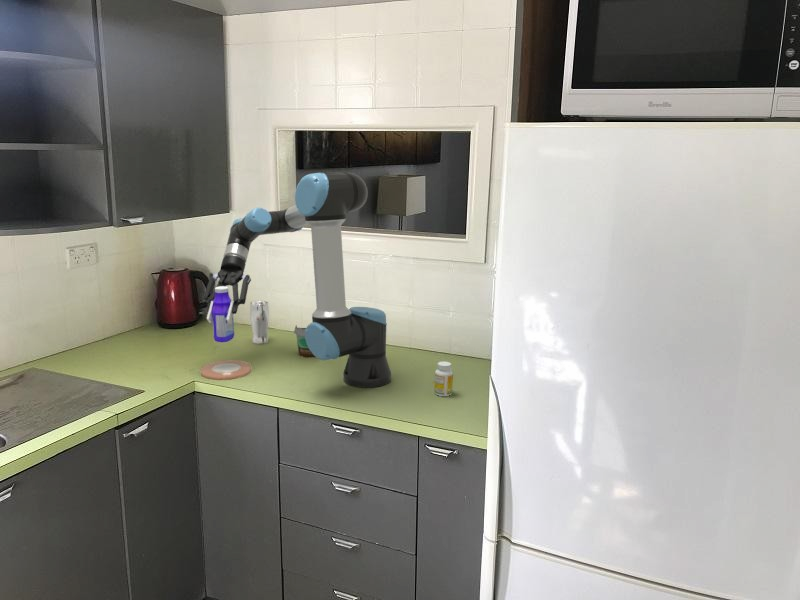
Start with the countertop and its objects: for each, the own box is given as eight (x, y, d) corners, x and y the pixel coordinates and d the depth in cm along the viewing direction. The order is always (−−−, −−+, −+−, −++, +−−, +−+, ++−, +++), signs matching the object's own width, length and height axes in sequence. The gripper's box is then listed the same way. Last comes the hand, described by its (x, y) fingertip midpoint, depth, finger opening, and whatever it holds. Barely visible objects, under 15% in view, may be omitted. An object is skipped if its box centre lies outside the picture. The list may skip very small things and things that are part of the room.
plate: (261, 367, 217) (261, 364, 216) (229, 383, 203) (229, 379, 202) (223, 360, 223) (223, 357, 223) (189, 374, 209) (189, 371, 209)
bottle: (227, 344, 207) (224, 290, 203) (210, 342, 208) (207, 289, 204) (237, 337, 214) (235, 285, 210) (221, 336, 215) (218, 284, 211)
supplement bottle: (436, 397, 194) (437, 366, 192) (432, 390, 199) (433, 361, 197) (454, 396, 195) (455, 366, 193) (449, 390, 200) (450, 360, 198)
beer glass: (257, 345, 240) (255, 306, 236) (247, 341, 245) (245, 302, 241) (273, 342, 244) (272, 303, 241) (263, 337, 249) (262, 299, 246)
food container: (289, 357, 228) (288, 329, 225) (295, 351, 234) (294, 324, 231) (323, 359, 226) (323, 332, 223) (328, 354, 231) (328, 327, 229)
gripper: (264, 268, 220) (250, 328, 208) (210, 265, 222) (194, 325, 210) (259, 255, 213) (244, 316, 202) (203, 253, 215) (186, 314, 203)
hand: (218, 321), depth 206 cm, fingers closed on bottle, 6 cm apart
